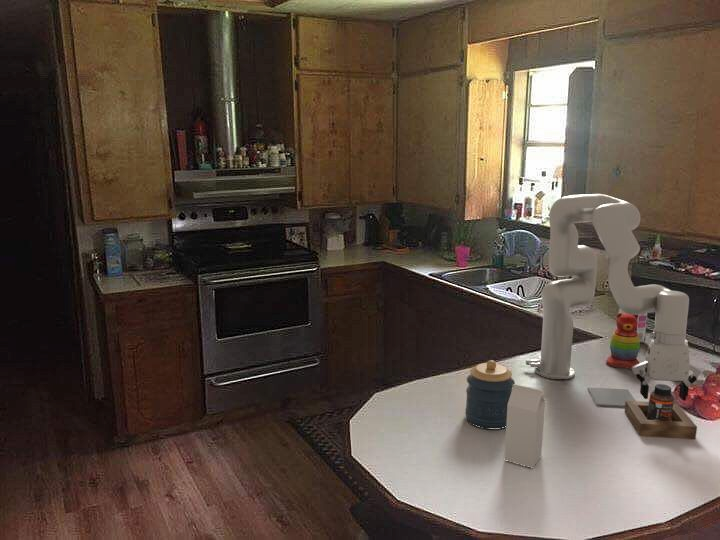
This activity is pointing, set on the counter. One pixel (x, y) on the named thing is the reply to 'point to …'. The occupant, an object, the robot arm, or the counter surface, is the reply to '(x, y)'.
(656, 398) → the supplement bottle
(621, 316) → the stacking bear
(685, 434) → the pocket block
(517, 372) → the counter surface
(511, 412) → the milk carton
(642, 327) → the candy bar box
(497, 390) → the canister
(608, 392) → the slate coaster
